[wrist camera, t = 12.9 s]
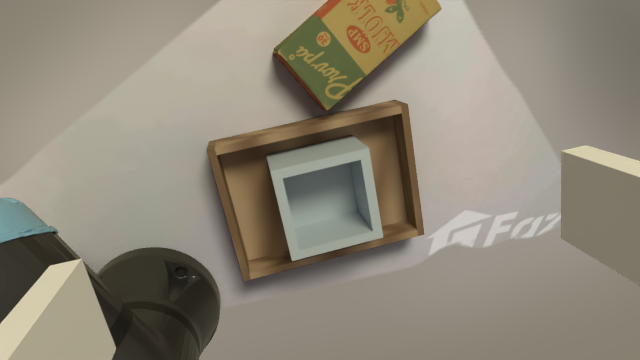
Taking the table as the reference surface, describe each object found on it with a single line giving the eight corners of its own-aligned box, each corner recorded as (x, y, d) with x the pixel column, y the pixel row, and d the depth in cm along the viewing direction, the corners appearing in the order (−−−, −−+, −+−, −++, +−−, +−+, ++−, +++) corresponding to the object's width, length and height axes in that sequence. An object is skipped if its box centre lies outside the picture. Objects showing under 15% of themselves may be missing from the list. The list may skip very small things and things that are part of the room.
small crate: (265, 154, 50) (270, 171, 43) (351, 134, 51) (368, 147, 44) (285, 234, 53) (292, 261, 46) (365, 213, 54) (383, 237, 47)
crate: (243, 264, 54) (243, 281, 50) (209, 141, 49) (206, 149, 45) (411, 221, 56) (424, 234, 52) (395, 99, 51) (407, 104, 48)
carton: (428, 11, 50) (445, 9, 46) (320, 108, 51) (328, 114, 47) (384, -54, 47) (398, -62, 43) (270, 51, 48) (274, 52, 44)
